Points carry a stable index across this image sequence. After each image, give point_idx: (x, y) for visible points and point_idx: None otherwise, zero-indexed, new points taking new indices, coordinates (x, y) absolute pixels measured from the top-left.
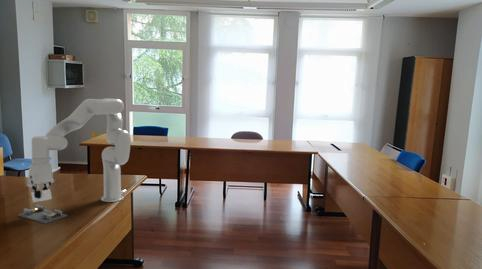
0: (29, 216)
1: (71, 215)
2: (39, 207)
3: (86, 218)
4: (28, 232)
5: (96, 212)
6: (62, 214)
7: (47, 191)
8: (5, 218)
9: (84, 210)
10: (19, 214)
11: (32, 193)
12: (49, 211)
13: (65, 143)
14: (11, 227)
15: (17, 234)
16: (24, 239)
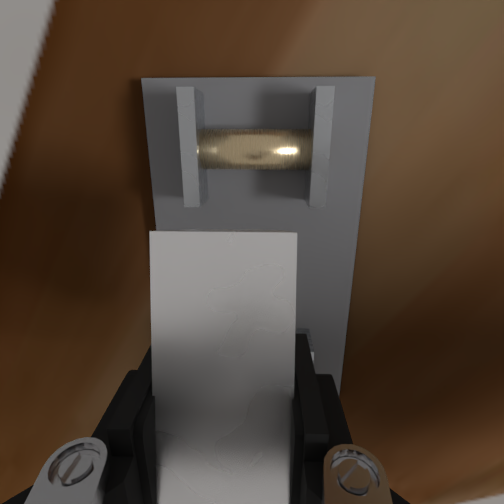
0: (174, 214)
1: (363, 399)
2: (309, 158)
3: None
4: (57, 413)
5: (474, 473)
6: (330, 372)
7: None
8: (51, 36)
9: (484, 395)
10: (150, 85)
11: (158, 268)
12: (336, 241)
13: None
14: (17, 275)
15: (6, 393)
16: (9, 462)
